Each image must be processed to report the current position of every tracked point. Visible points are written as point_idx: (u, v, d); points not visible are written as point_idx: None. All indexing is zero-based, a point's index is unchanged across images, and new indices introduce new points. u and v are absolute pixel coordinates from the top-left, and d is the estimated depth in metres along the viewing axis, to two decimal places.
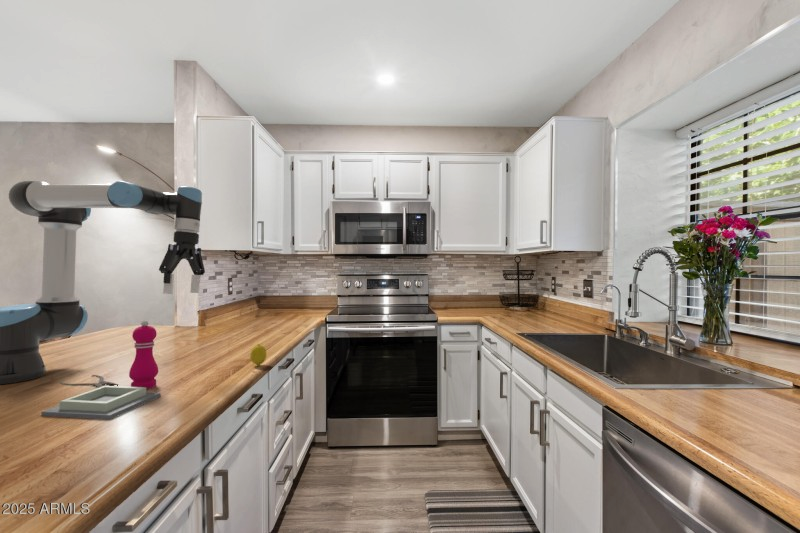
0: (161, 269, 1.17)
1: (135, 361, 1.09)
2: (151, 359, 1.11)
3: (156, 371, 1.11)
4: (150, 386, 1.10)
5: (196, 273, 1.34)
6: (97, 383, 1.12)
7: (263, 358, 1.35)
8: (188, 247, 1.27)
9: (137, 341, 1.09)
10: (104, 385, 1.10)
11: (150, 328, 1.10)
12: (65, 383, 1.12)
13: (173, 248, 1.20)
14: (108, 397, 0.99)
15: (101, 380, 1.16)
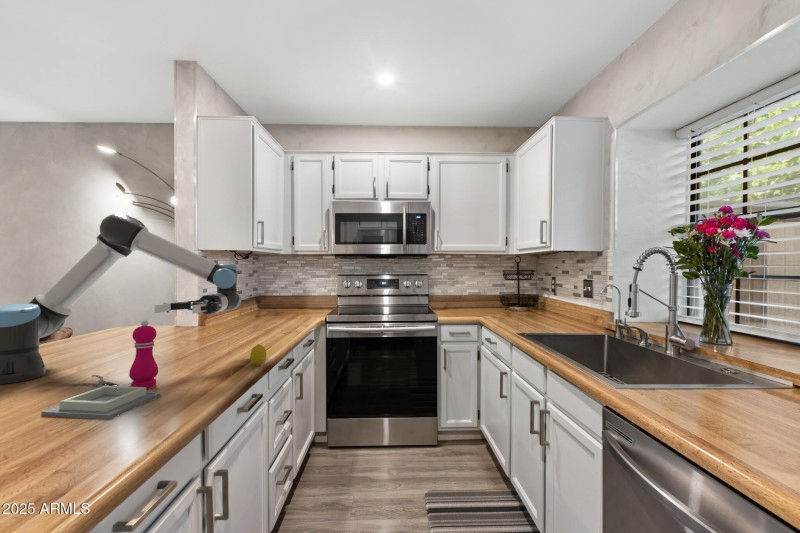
0: (216, 306, 1.30)
1: (135, 361, 1.09)
2: (151, 360, 1.11)
3: (156, 371, 1.11)
4: (150, 386, 1.10)
5: None
6: (97, 383, 1.12)
7: (263, 358, 1.35)
8: None
9: (137, 341, 1.09)
10: (104, 385, 1.11)
11: (150, 328, 1.10)
12: (65, 383, 1.13)
13: (219, 307, 1.38)
14: (108, 397, 0.99)
15: (101, 380, 1.16)
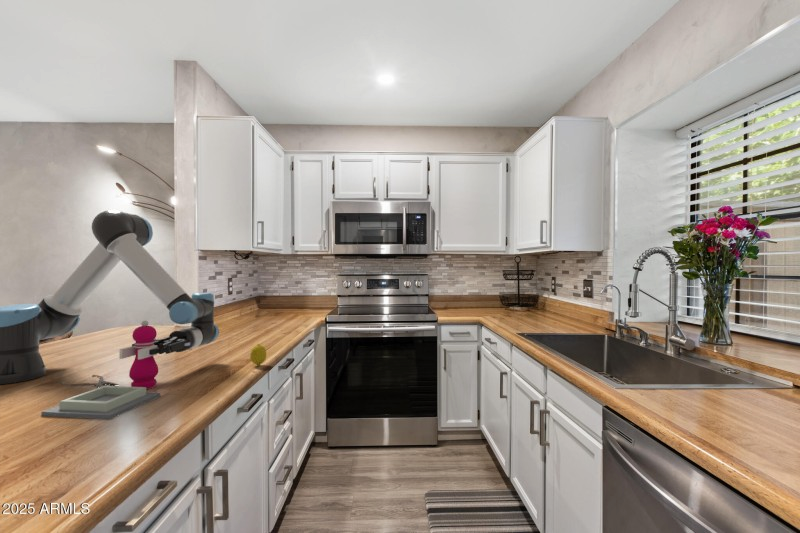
0: (169, 348, 1.13)
1: (135, 361, 1.09)
2: (151, 359, 1.11)
3: (156, 371, 1.11)
4: (150, 386, 1.10)
5: None
6: (97, 383, 1.12)
7: (263, 358, 1.35)
8: None
9: (137, 341, 1.09)
10: (104, 385, 1.11)
11: (150, 328, 1.10)
12: (65, 383, 1.13)
13: (186, 346, 1.20)
14: (108, 397, 0.99)
15: (101, 380, 1.16)
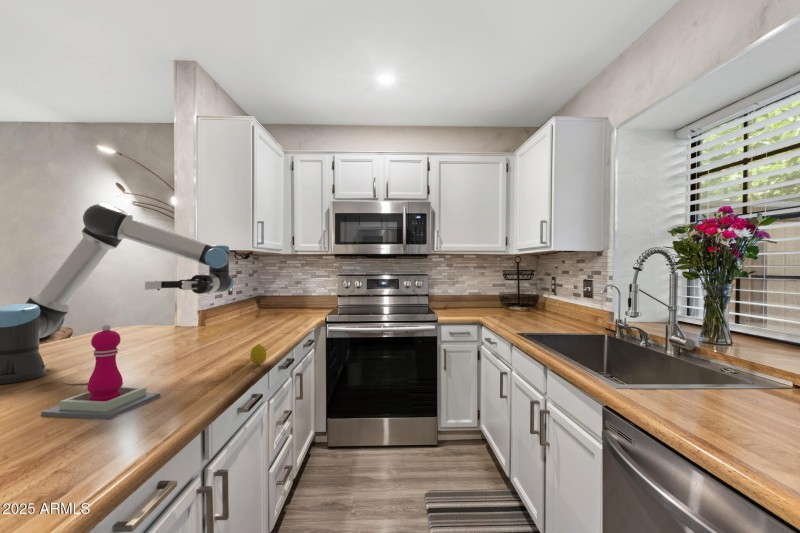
0: (207, 284, 1.30)
1: (94, 372, 0.94)
2: (114, 370, 0.96)
3: (119, 383, 0.96)
4: None
5: (160, 284, 1.31)
6: None
7: (263, 358, 1.35)
8: None
9: (96, 348, 0.94)
10: None
11: (112, 333, 0.95)
12: (66, 383, 1.13)
13: (211, 286, 1.37)
14: None
15: None
